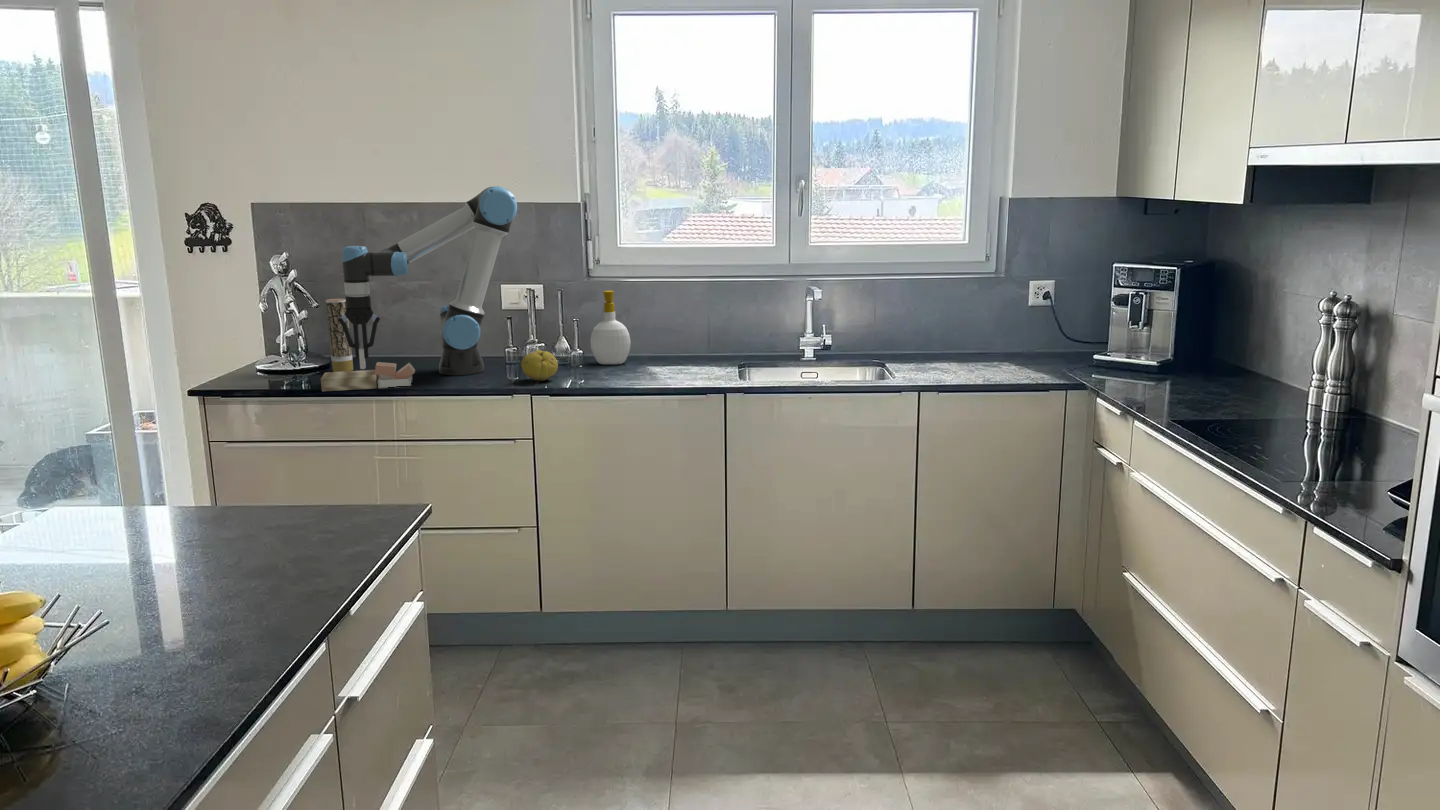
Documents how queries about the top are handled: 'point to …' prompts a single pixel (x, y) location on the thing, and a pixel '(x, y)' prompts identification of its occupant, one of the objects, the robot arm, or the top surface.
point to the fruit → (539, 365)
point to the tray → (393, 381)
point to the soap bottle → (610, 336)
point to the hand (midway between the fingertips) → (363, 368)
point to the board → (349, 380)
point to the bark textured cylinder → (338, 336)
